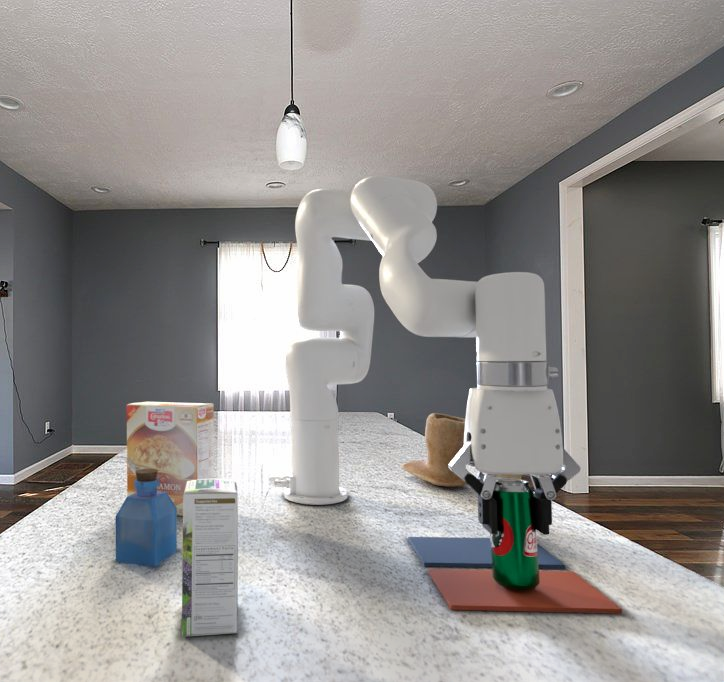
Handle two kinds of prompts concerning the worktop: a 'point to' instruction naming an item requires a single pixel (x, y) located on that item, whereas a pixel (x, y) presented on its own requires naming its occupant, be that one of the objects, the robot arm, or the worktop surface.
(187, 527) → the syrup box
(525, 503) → the soda can
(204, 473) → the coffeecake box
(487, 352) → the robot arm
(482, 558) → the slate-blue mat
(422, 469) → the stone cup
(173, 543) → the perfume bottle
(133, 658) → the worktop surface
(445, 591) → the terracotta mat
